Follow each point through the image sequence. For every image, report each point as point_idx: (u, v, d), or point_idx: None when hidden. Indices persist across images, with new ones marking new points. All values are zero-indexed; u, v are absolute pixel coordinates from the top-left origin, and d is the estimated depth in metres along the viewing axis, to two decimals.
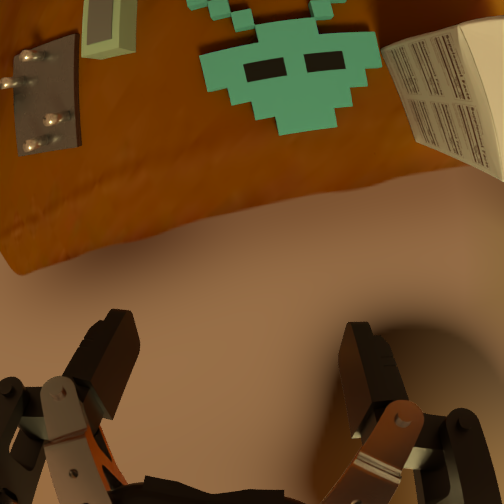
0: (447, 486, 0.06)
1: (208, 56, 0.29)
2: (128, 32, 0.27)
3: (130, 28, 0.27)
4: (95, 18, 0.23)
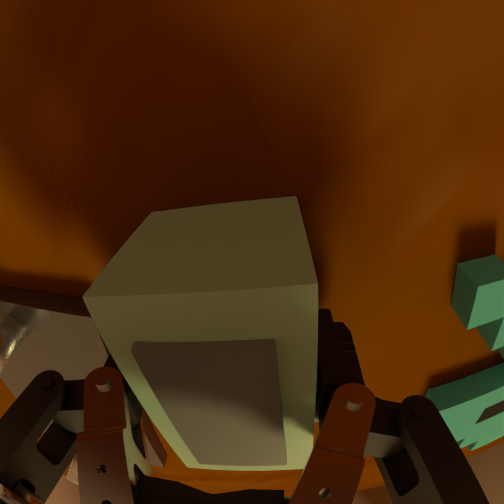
0: (416, 472, 0.06)
1: (448, 410, 0.13)
2: None
3: None
4: (207, 425, 0.08)
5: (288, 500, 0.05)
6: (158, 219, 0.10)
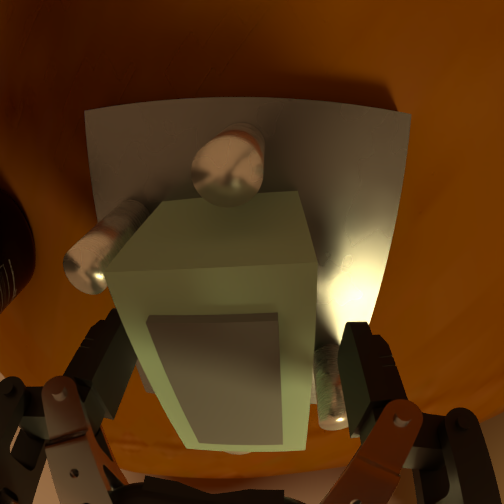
0: (446, 485, 0.06)
1: None
2: None
3: None
4: (210, 400, 0.09)
5: None
6: (169, 207, 0.11)
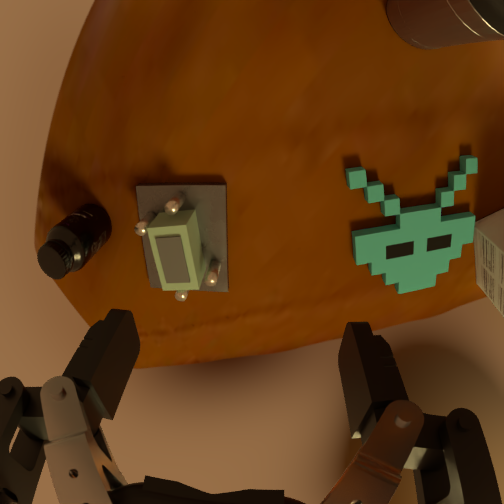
0: (447, 486, 0.06)
1: (361, 238, 0.40)
2: (199, 263, 0.41)
3: (199, 257, 0.41)
4: (168, 261, 0.37)
5: None
6: (161, 214, 0.39)
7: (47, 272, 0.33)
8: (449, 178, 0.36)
